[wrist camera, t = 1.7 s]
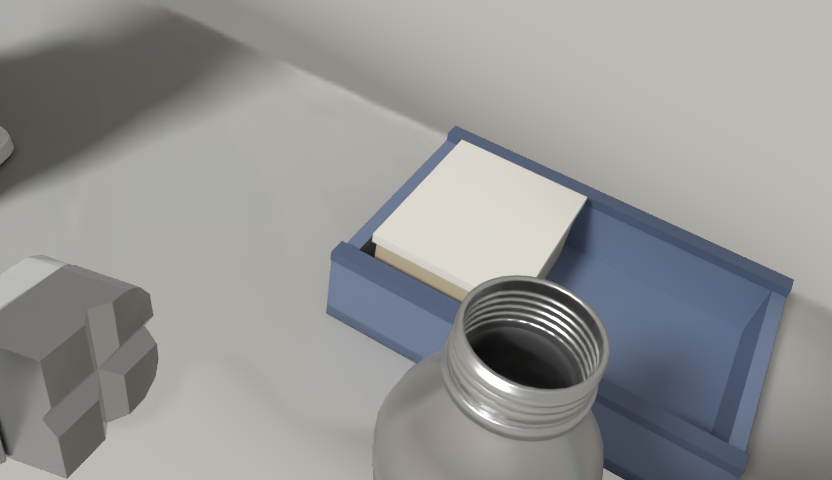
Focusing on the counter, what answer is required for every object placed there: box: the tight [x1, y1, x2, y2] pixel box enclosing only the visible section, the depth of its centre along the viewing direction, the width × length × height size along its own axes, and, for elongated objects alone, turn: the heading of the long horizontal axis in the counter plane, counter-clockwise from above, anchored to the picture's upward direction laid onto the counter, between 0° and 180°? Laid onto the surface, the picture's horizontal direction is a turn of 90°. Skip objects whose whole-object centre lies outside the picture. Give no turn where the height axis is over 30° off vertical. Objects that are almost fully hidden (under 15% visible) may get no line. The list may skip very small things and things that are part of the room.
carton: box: [372, 140, 587, 303], centre depth 44 cm, size 8×10×5 cm
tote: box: [326, 126, 794, 480], centre depth 43 cm, size 22×14×5 cm, turn 60°
